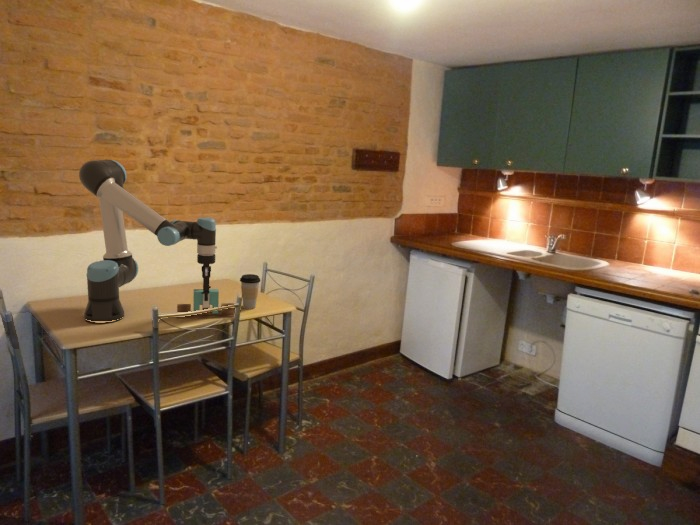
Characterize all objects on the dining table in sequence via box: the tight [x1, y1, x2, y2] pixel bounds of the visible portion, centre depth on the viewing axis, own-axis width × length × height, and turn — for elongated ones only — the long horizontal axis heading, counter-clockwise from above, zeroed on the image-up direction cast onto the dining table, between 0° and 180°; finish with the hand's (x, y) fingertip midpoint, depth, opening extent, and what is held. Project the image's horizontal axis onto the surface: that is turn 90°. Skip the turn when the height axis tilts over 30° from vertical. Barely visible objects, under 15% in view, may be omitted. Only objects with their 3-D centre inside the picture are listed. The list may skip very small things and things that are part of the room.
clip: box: [192, 288, 220, 314], centre depth 224 cm, size 10×4×10 cm, turn 106°
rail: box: [176, 302, 235, 319], centre depth 225 cm, size 24×6×5 cm, turn 106°
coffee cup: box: [239, 273, 261, 310], centre depth 239 cm, size 9×9×15 cm
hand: (206, 305), depth 224 cm, fingers open, 5 cm apart
